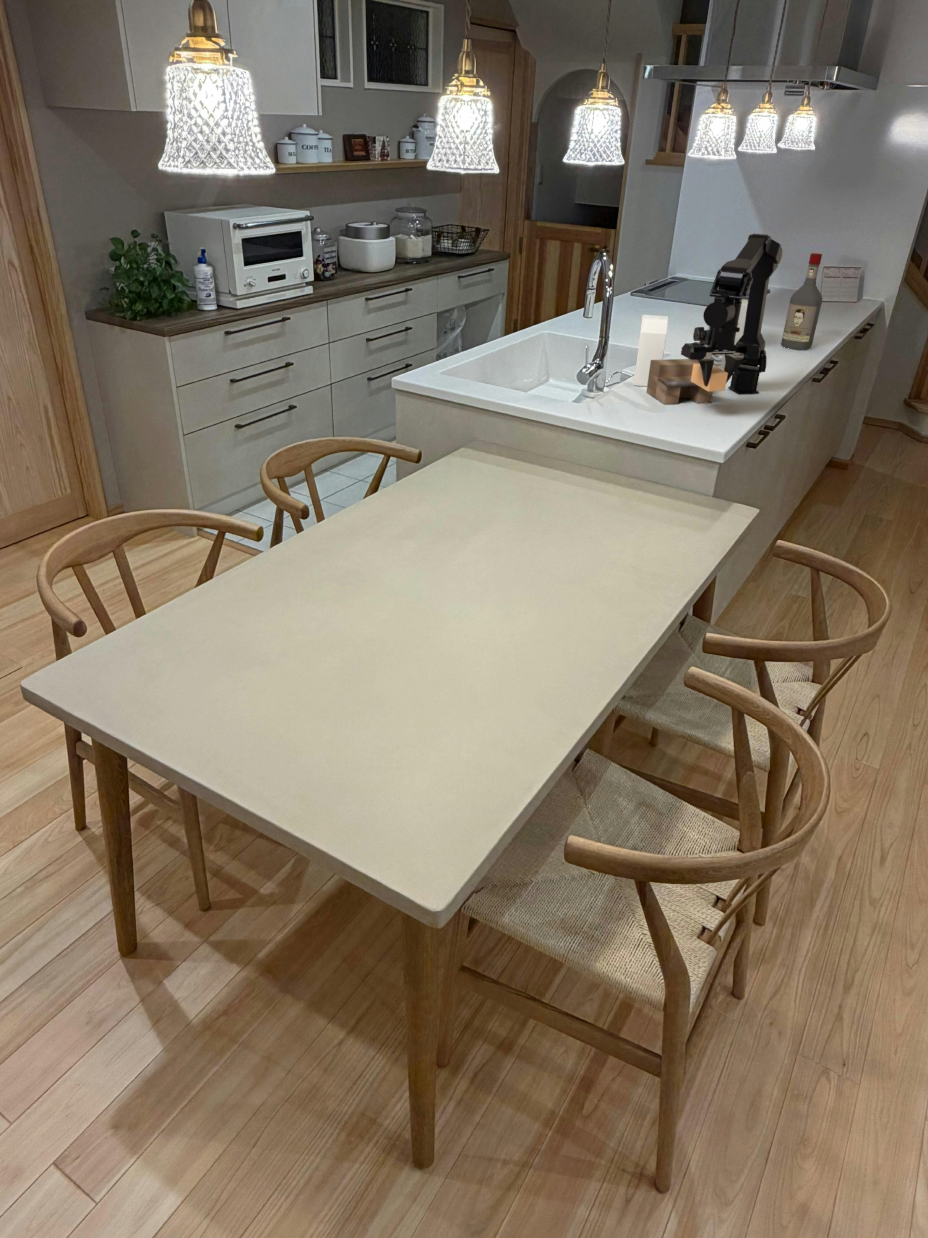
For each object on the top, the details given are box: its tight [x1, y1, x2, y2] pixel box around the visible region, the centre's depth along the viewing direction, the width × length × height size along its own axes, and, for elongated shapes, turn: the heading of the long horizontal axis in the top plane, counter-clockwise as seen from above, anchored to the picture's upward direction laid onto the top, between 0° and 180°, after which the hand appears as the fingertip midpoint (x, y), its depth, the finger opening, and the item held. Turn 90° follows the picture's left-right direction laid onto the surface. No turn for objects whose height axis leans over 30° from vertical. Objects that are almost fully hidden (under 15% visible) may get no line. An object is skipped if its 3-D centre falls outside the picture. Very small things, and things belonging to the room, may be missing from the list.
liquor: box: [780, 252, 823, 351], centre depth 285 cm, size 9×9×30 cm
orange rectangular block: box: [691, 364, 728, 392], centre depth 215 cm, size 4×10×4 cm, turn 13°
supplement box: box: [735, 298, 748, 345], centre depth 287 cm, size 9×9×15 cm
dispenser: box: [646, 358, 714, 406], centre depth 230 cm, size 15×13×9 cm
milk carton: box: [633, 314, 669, 387], centre depth 240 cm, size 7×7×19 cm
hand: (714, 385), depth 213 cm, fingers closed on orange rectangular block, 4 cm apart
